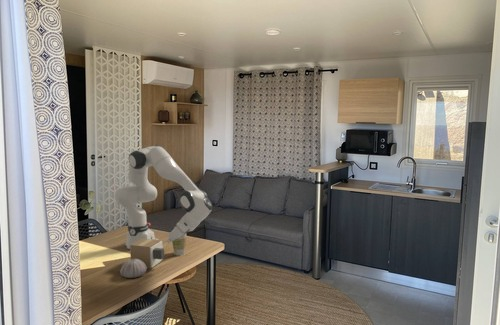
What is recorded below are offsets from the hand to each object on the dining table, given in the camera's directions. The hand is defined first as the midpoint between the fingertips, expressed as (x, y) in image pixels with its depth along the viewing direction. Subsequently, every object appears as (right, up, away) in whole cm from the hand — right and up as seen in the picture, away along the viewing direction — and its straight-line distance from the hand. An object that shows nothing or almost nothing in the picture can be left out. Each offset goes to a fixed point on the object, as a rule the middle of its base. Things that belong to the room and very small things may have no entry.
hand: (172, 239), depth 202 cm
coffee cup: (-1, -14, +25) cm, 28 cm away
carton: (-17, -15, +9) cm, 25 cm away
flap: (-8, -15, +7) cm, 18 cm away
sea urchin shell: (-19, -17, -6) cm, 27 cm away
